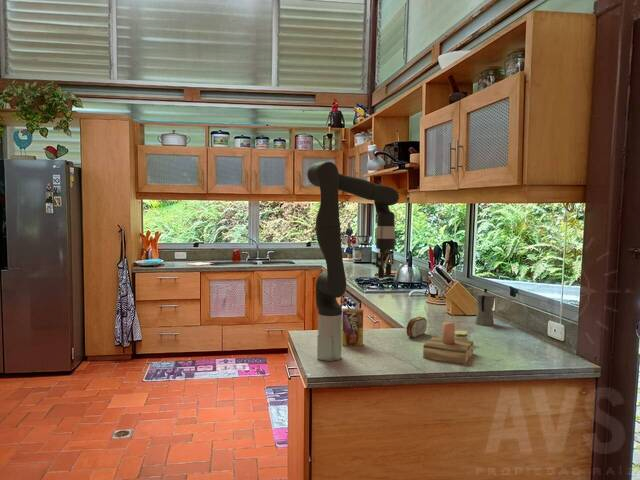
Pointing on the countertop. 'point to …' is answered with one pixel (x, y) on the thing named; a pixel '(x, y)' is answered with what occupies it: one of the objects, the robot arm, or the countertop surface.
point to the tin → (416, 327)
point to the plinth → (448, 350)
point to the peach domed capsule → (449, 333)
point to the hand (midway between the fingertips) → (384, 276)
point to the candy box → (352, 326)
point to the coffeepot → (485, 308)
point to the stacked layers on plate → (461, 335)
